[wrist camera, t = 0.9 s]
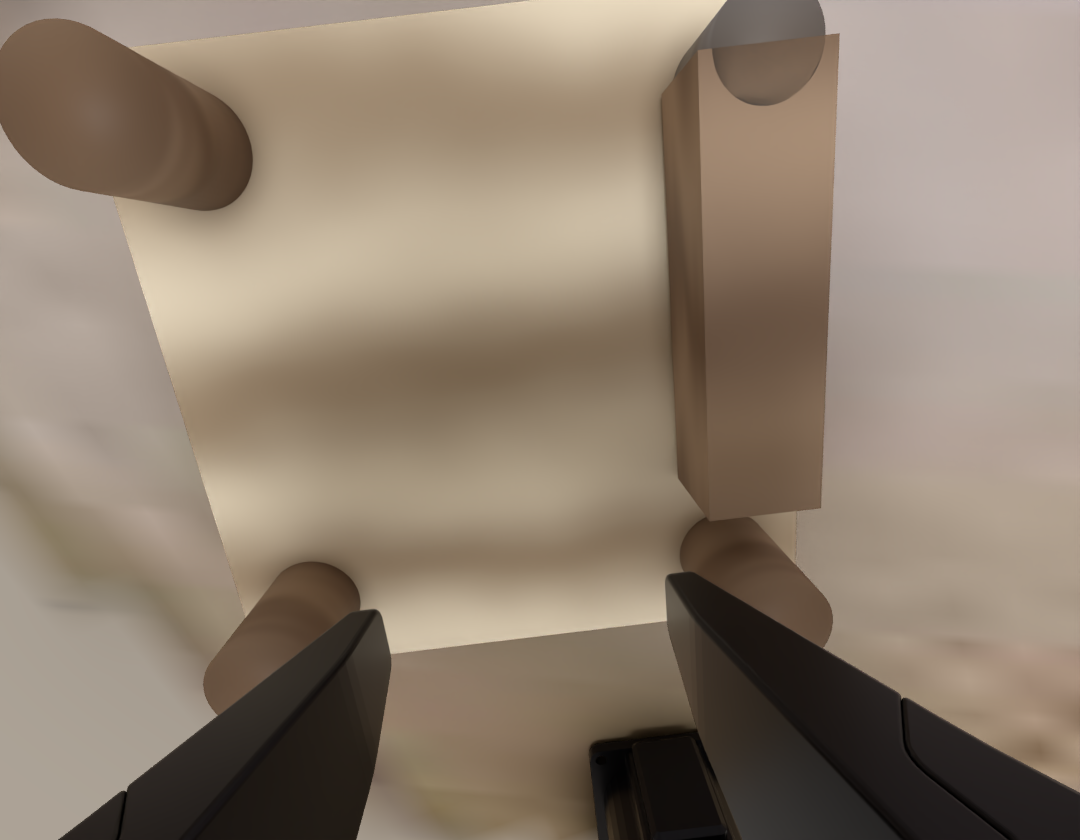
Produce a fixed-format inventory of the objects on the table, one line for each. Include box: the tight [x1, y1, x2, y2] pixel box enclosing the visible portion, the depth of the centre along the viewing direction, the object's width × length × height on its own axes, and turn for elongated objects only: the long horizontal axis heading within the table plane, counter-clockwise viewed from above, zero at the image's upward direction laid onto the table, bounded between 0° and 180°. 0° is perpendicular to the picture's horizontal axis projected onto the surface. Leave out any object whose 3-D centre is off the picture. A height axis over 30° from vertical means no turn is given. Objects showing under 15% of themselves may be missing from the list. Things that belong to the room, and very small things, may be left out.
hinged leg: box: [661, 0, 840, 521], centre depth 14 cm, size 12×3×3 cm, turn 6°
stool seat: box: [0, 0, 833, 715], centre depth 16 cm, size 19×19×7 cm
